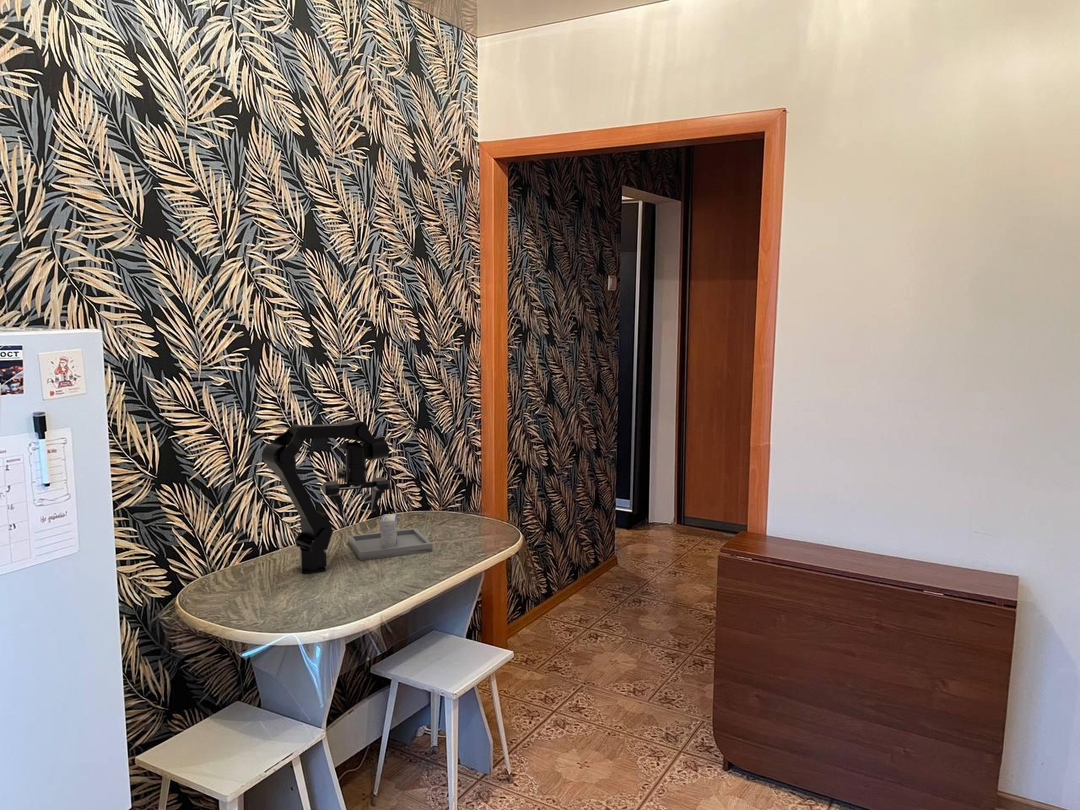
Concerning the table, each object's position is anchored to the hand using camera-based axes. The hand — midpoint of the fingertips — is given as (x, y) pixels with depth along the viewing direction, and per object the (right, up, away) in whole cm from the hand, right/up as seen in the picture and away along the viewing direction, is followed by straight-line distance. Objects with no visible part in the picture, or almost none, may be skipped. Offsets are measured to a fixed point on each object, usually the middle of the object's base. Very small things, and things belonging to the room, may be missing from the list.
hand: (356, 514), depth 223 cm
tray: (+8, -12, +11) cm, 18 cm away
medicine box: (+8, -11, +10) cm, 17 cm away
